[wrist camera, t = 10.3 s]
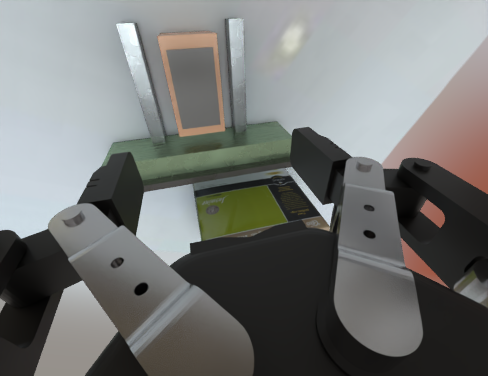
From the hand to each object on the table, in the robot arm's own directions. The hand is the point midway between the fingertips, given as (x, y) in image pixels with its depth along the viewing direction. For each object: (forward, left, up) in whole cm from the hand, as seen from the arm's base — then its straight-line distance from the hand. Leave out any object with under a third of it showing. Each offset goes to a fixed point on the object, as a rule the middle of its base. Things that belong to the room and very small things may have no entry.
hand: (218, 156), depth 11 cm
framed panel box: (0, 0, -20) cm, 20 cm away
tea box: (-5, +18, -20) cm, 27 cm away
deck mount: (0, +2, -19) cm, 19 cm away
